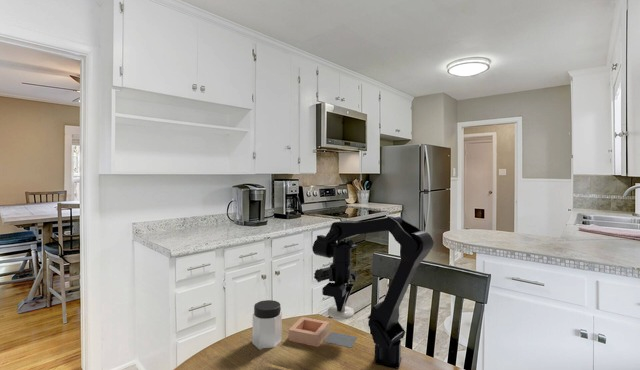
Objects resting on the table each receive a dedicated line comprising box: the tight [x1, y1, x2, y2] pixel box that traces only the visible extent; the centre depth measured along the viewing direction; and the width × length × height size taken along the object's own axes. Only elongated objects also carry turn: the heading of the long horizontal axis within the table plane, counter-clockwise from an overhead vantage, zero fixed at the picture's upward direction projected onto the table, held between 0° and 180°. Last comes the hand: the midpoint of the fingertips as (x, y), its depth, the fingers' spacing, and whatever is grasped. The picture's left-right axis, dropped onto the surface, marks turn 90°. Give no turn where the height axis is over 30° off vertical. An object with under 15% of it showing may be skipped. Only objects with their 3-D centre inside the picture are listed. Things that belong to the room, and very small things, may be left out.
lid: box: [327, 303, 355, 320], centre depth 101 cm, size 8×8×5 cm
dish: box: [288, 316, 330, 348], centre depth 103 cm, size 10×10×4 cm
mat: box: [323, 331, 358, 348], centre depth 101 cm, size 9×7×1 cm
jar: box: [251, 299, 283, 351], centre depth 99 cm, size 9×8×12 cm
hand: (340, 309), depth 101 cm, fingers closed on lid, 3 cm apart
